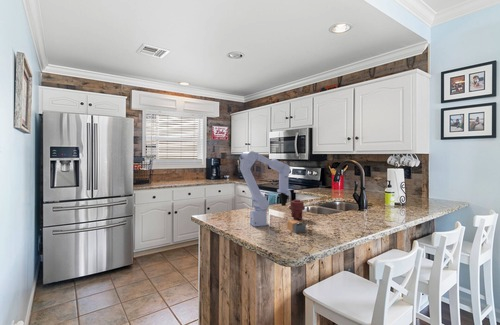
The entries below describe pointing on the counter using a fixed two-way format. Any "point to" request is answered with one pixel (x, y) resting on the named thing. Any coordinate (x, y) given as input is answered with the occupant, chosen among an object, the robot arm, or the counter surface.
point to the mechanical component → (296, 209)
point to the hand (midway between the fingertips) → (283, 205)
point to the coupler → (299, 227)
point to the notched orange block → (291, 224)
